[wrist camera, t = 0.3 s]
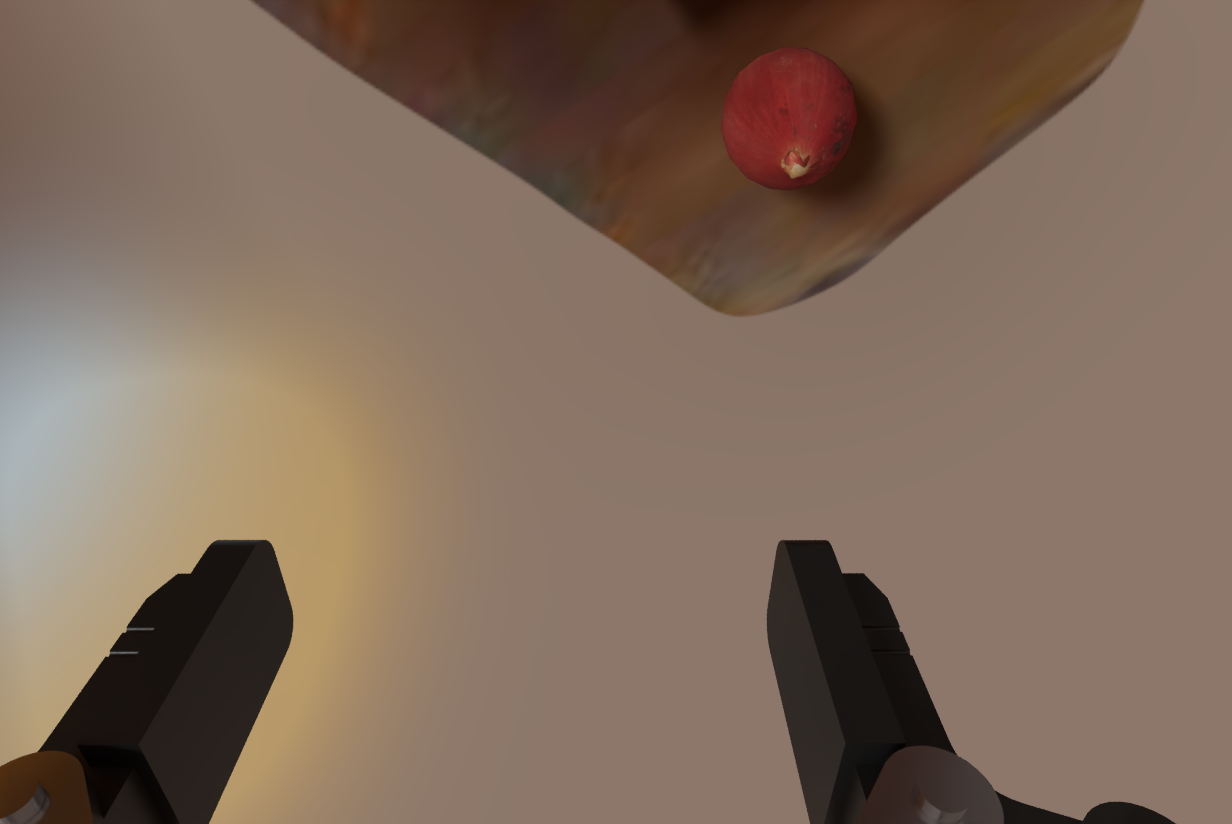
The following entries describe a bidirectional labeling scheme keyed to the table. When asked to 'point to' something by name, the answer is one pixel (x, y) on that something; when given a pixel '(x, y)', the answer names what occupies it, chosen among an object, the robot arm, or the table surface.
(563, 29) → the table surface
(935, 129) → the table surface
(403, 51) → the table surface
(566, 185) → the table surface
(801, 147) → the onion
